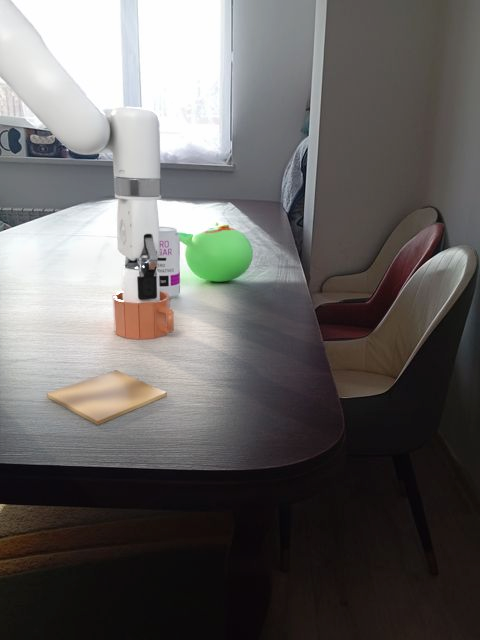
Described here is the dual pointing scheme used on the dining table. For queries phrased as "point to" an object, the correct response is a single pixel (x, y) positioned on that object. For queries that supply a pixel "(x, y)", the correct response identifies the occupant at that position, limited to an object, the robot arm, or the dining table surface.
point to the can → (134, 284)
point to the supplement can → (169, 261)
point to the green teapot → (217, 252)
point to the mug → (142, 317)
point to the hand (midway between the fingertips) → (141, 292)
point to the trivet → (106, 396)
